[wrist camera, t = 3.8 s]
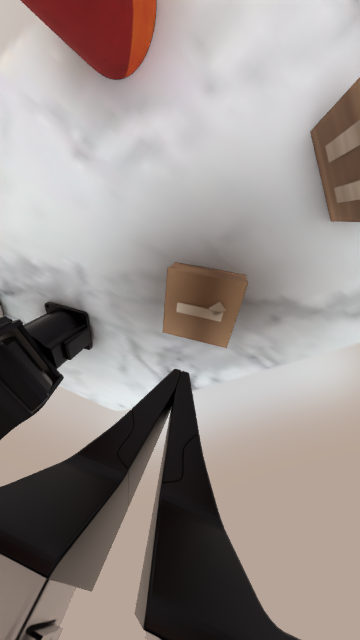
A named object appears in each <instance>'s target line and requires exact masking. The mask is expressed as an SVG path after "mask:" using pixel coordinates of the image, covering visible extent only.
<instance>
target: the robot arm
mask: <svg viewBox="0 0 360 640" xmlns="http://www.w3.org/2000/svg"><path fill="white" fill-rule="evenodd" d="M45 309H46V312H47V314H45V315H43V316H41V317H39V318H37V319H35V320H33V321H31V322H29V323H27V324H25V325H22V324H23V323H22V322H21V320H20V319H19V320H15V321H12V319H9V318H7V317H5V316H4V317H1V318H0V440H1V439H2V438H3V437H4V436H5V435H6V434H8V433H9V432H10V431H11V430H12V429H14V428H15V427H16V426H18V425H19V424H20V423H22V422H24V421H25V420H27V419H28V418H30V417H31V416H33V415H34V414H35V413H37V412H38V411H39V410H40V409H41V408H42V407H43V406H44V404H45V403H46V402H47V400H48V399H49V398H50V396H51V395H52V393H53V392H54V391H55V389H56V388H57V387H58V385H59V384H60V382H61V381H62V380H63V378H64V377H63V375H62V374H60V373H59V372H58V370H57V368H58V367H60V366H61V365H62V364H63V363H64V362H65V361H67V360H71V359H72V358H73V357H74V356H76V355H77V354H78V353H79V352H80V351H81V350H82V349H87V350H90V349H91V348H92V342H91V334H90V327H89V320H88V315H87V313H85V312H83V311H79V310H76V309H72V308H68V307H65V306H61V305H58V304H54V303H51V302H47V303H45ZM83 315H84V316H83ZM171 407H172V408H171ZM170 410H171V413H170ZM169 413H170V418H169V424H168V429H167V435H166V441H165V446H164V452H163V457H162V463H161V468H160V474H159V480H158V485H157V492H156V497H155V502H154V508H153V513H152V519H151V525H150V531H149V536H148V542H147V547H146V553H145V559H144V564H143V570H142V575H141V581H140V587H139V593H138V599H137V603H136V609H135V615H136V617H137V619H138V620H139V622H140V624H141V626H142V628H143V629H144V630H145V631H146V637H145V640H300V639H298V638H296V637H294V636H292V635H290V634H288V633H286V632H284V631H282V630H281V629H279V628H278V627H277V626H276V625H275V624H274V623H273V622H272V621H271V619H270V618H269V616H268V615H267V614H266V612H265V611H264V609H263V607H262V606H261V604H260V602H259V600H258V598H257V596H256V594H255V592H254V590H253V588H252V586H251V583H250V581H249V579H248V577H247V575H246V573H245V571H244V569H243V567H242V565H241V562H240V560H239V558H238V556H237V554H236V552H235V550H234V548H233V546H232V544H231V542H230V539H229V537H228V535H227V534H226V531H225V529H224V526H223V524H222V521H221V518H220V515H219V512H218V508H217V505H216V501H215V498H214V494H213V491H212V487H211V484H210V480H209V477H208V473H207V469H206V465H205V461H204V457H203V453H202V447H201V442H200V436H199V430H198V425H197V418H196V412H195V406H194V401H193V394H192V388H191V382H190V376H189V373H188V372H184V371H182V372H181V370H178V369H174V370H173V371H172V372H171V373H169V374H168V375H167V376H166V377H165V378H164V379H163V380H162V381H161V382H160V383H159V384H158V385H157V386H156V387H155V388H154V389H152V390H151V391H150V392H149V393H148V394H147V395H146V396H145V397H144V398H143V399H142V400H141V401H140V402H139V403H138V404H136V405H135V406H134V407H133V408H132V410H130V411H129V412H128V413H127V414H126V415H125V416H124V417H122V418H121V419H120V420H119V421H118V422H117V423H116V424H114V425H113V426H112V427H111V428H110V429H108V430H107V431H106V432H104V433H103V434H102V435H100V436H99V437H98V438H96V439H95V440H94V441H92V442H91V443H90V444H88V445H87V446H86V447H84V448H83V449H82V450H80V451H79V452H78V453H76V454H75V455H73V456H72V457H70V458H68V459H67V460H65V461H63V462H61V463H58V464H56V465H53V466H51V467H49V468H46V469H44V470H42V471H39V472H37V473H34V474H32V475H29V476H27V477H25V478H22V479H20V480H17V481H15V482H12V483H10V484H8V485H5V486H2V487H0V640H58V639H59V637H60V634H61V632H62V628H61V627H60V624H61V622H62V619H63V617H64V615H65V612H66V610H67V608H68V605H69V603H70V601H71V598H72V596H73V593H74V591H75V589H76V587H78V588H81V589H84V590H88V591H92V590H93V587H94V585H95V583H96V581H97V578H98V576H99V574H100V571H101V569H102V567H103V565H104V562H105V560H106V558H107V555H108V553H109V551H110V548H111V546H112V544H113V542H114V539H115V537H116V535H117V532H118V530H119V528H120V525H121V523H122V521H123V519H124V516H125V514H126V512H127V509H128V507H129V504H130V502H131V500H132V498H133V496H134V493H135V491H136V489H137V486H138V484H139V482H140V480H141V477H142V475H143V473H144V470H145V468H146V466H147V463H148V461H149V459H150V457H151V454H152V452H153V450H154V447H155V445H156V443H157V440H158V438H159V436H160V434H161V431H162V429H163V426H164V424H165V422H166V420H167V418H168V415H169Z"/></svg>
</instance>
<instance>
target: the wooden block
mask: <svg viewBox="0 0 360 640" xmlns="http://www.w3.org/2000/svg"><path fill="white" fill-rule="evenodd" d="M311 137H312V141H313V145H314V150H315V154H316V158H317V163H318V167H319V171H320V176H321V180H322V184H323V189H324V193H325V198H326V202H327V206H328V211H329V215H330V219H331V221H342V222H360V78H359V79H358V80H357V81H356V82H355V83H354V84H353V85H352V86H351V87H350V89H349V90H348V91H347V92H346V93H345V94H344V95H343V96H342V97H341V98H340V100H339V101H338V102H337V103H336V104H335V105H334V106H333V107H332V108H331V109H330V111H329V112H328V113H327V114H326V115H325V116H324V117H323V118H322V119H321V120H320V122H319V123H318V124H317V125H316V126H315V127H314V128H313V129H312V130H311Z"/></svg>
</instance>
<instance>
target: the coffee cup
mask: <svg viewBox="0 0 360 640" xmlns="http://www.w3.org/2000/svg"><path fill="white" fill-rule="evenodd" d="M21 1H22V2H23V3H24V4H25V5H26V6H27V7H28V8H29V9H30V10H31V11H32V12H33V13H34V14H35V15H36V16H38V17H39V18H40V19H41V20H42V21H43V22H44V23H45V24H46V25H47V26H48V27H49V28H50V29H51V30H52V31H53V32H55V33H56V34H57V35H58V36H59V37H60V38H61V39H62V40H63V41H64V42H65V43H66V44H67V45H68V46H69V47H71V48H72V49H73V50H74V51H75V52H76V53H77V54H78V55H79V56H80V57H81V58H82V59H84V60H85V61H86V62H87V63H88V64H89V65H90V66H91V67H93V68H94V69H95V70H96V71H97V72H99V73H100V74H102V75H103V76H105V77H107V78H110V79H123V78H125V77H128V76H129V75H131V74H132V73H133V72H134V71H135V70H136V69H137V68H138V67H139V65H140V64H141V63H142V61H143V59H144V57H145V55H146V53H147V51H148V48H149V46H150V43H151V39H152V35H153V31H154V25H155V18H156V0H21Z"/></svg>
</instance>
